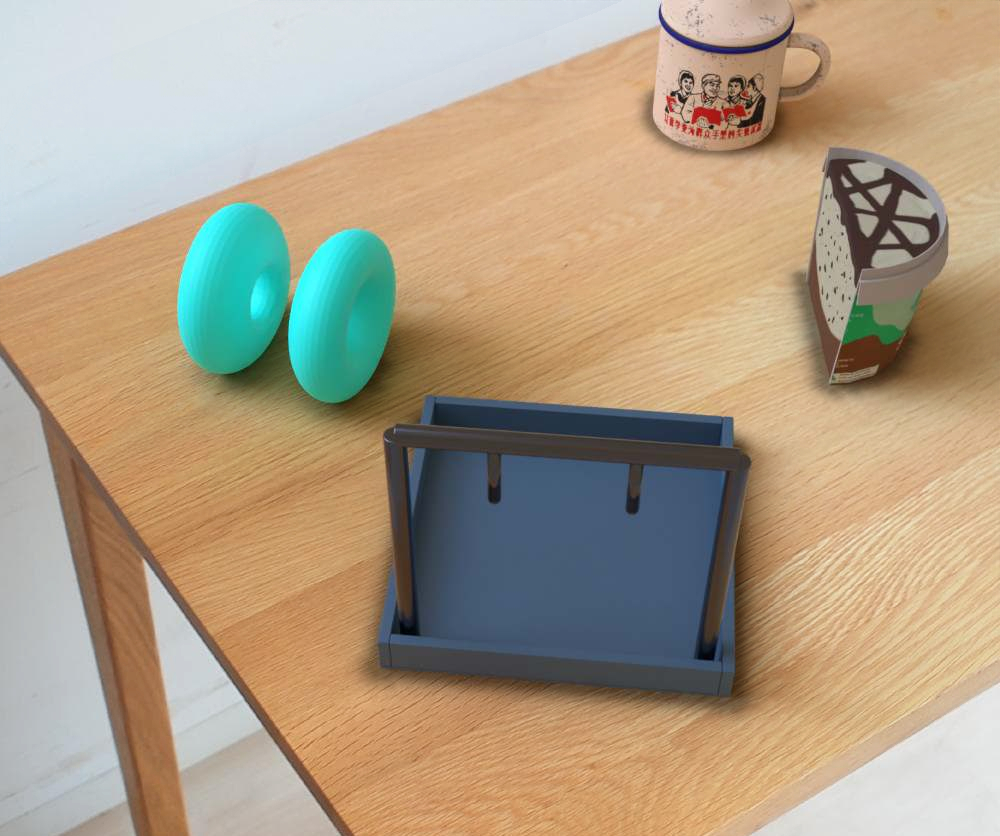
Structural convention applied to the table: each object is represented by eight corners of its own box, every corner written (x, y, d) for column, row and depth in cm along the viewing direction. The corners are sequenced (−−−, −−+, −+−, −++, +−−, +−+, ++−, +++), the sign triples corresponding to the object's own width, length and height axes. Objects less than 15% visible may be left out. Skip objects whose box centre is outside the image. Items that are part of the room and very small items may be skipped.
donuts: (260, 296, 91) (238, 163, 83) (407, 333, 89) (398, 199, 81) (184, 401, 85) (154, 268, 77) (340, 443, 82) (324, 310, 75)
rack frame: (710, 673, 72) (753, 443, 60) (709, 690, 71) (753, 461, 59) (403, 647, 73) (383, 416, 61) (400, 663, 72) (380, 433, 60)
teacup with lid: (645, 156, 101) (659, 2, 92) (651, 83, 107) (665, -67, 98) (819, 168, 100) (849, 14, 91) (815, 94, 106) (844, -57, 97)
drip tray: (727, 451, 82) (733, 416, 80) (728, 705, 71) (735, 672, 69) (427, 429, 83) (425, 394, 81) (380, 675, 72) (376, 642, 70)
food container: (936, 409, 84) (979, 276, 77) (831, 410, 84) (864, 276, 77) (896, 273, 92) (932, 140, 85) (800, 273, 92) (827, 140, 85)
